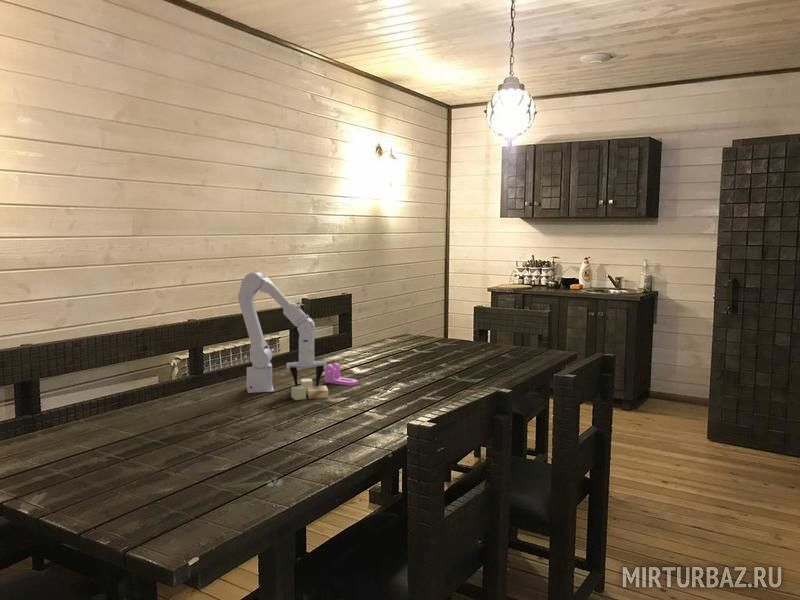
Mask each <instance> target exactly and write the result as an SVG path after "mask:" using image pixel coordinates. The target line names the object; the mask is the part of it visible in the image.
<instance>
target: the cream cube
mask: <svg viewBox="0 0 800 600" xmlns="http://www.w3.org/2000/svg"><path fill="white" fill-rule="evenodd" d="M313 382H314V380H313V379H312V378H301V379H300V386H303V387H305V388H306V393H307V387H308V386H314V383H313Z"/></svg>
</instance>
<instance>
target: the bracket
mask: <svg viewBox="0 0 800 600" xmlns="http://www.w3.org/2000/svg"><path fill="white" fill-rule="evenodd" d="M358 381H359V380H358V379H355V378H349V377H342V376H341V365H340V364H339V363H338V362H334V363H332V364H328V365H326V367H324V383H329V384H337V385H342V386H357V385H358Z"/></svg>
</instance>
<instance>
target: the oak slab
mask: <svg viewBox="0 0 800 600" xmlns="http://www.w3.org/2000/svg"><path fill="white" fill-rule="evenodd" d="M306 396H307V397H308V399H309V400H311V399H327V398H329V389H328V387H327V385H318V386H316V385H313V386H308V387H307V392H306Z"/></svg>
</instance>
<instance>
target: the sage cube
mask: <svg viewBox="0 0 800 600" xmlns="http://www.w3.org/2000/svg"><path fill="white" fill-rule="evenodd" d="M290 393H291V394H290V395H291V396H290V397H291V398H292V400H295V401H300V400H307V392H306V388H305V387H303V386H301V385H298V386H295V385H294V386H291V392H290Z"/></svg>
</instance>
